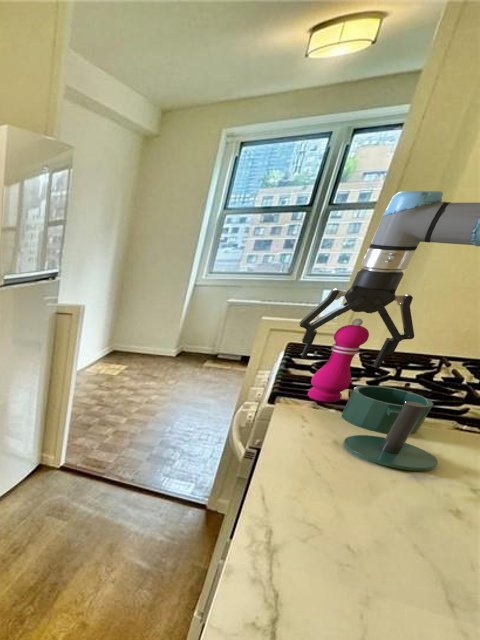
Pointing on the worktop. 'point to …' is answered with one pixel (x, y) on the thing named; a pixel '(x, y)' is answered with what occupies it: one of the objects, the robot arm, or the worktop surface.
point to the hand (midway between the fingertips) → (338, 361)
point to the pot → (381, 407)
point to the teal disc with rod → (395, 443)
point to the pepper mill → (338, 363)
